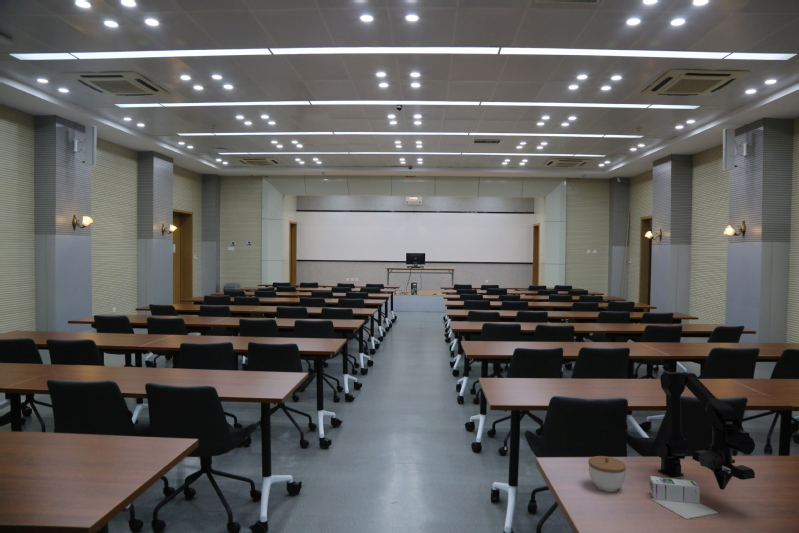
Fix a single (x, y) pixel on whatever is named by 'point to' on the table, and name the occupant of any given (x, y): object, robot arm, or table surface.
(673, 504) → the mat
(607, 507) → the table surface
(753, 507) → the table surface
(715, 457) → the robot arm
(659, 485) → the syrup box
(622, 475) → the lidded bowl
